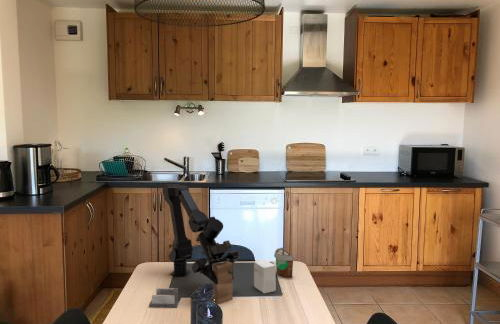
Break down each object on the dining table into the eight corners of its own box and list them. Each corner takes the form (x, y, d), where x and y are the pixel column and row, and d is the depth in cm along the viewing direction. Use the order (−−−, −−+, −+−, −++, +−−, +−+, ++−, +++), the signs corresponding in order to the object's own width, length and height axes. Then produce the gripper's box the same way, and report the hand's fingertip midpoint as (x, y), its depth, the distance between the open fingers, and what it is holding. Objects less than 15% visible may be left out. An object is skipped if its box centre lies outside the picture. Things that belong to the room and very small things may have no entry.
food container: (269, 269, 185) (270, 248, 183) (282, 268, 186) (282, 247, 185) (280, 280, 173) (280, 257, 172) (293, 278, 175) (293, 255, 174)
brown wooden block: (213, 301, 153) (213, 264, 151) (227, 296, 157) (227, 261, 155) (219, 305, 150) (219, 267, 148) (234, 300, 154) (234, 264, 152)
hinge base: (154, 297, 156) (154, 287, 155) (181, 297, 155) (180, 287, 155) (149, 307, 148) (148, 296, 147) (176, 307, 147) (176, 296, 147)
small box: (275, 291, 162) (276, 265, 161) (263, 294, 159) (263, 267, 158) (265, 284, 169) (265, 259, 168) (253, 286, 166) (253, 261, 165)
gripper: (195, 238, 148) (211, 277, 141) (237, 230, 160) (254, 266, 152) (185, 254, 155) (200, 291, 148) (226, 245, 167) (242, 279, 159)
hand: (225, 281), depth 152 cm, fingers closed on brown wooden block, 6 cm apart
